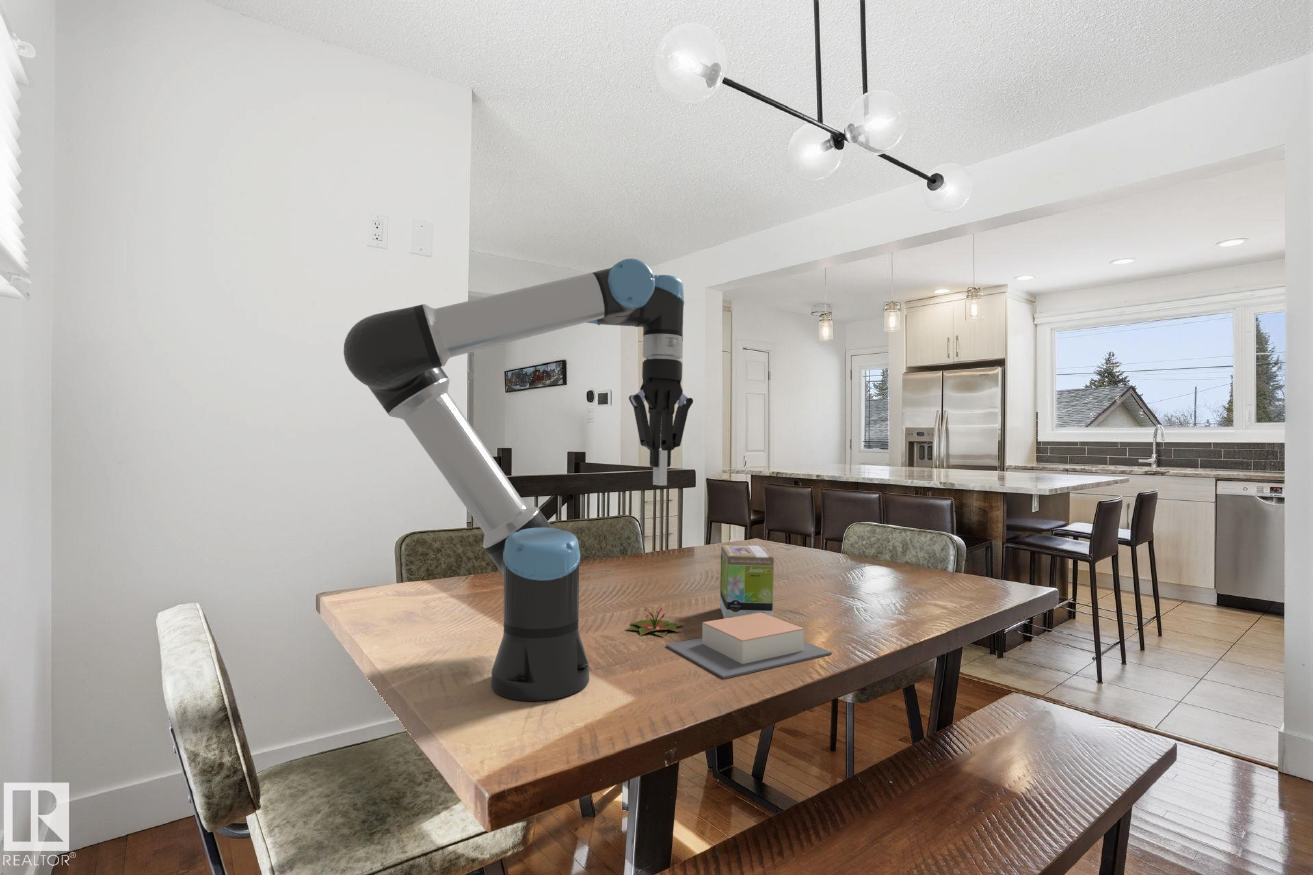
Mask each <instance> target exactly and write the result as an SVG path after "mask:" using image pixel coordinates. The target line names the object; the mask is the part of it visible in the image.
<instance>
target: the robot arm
mask: <svg viewBox="0 0 1313 875" xmlns="http://www.w3.org/2000/svg"><path fill="white" fill-rule="evenodd" d="M684 294H685V292H684V284H683V281H682V279H680V278H679V277H677V276H674V275H669V274H654V273H653V271H652V269H651V268H650V267H649V266H648V264H646V263H645V261H642V260H640V259H637V258H633V257H632V258H625V259H623V260H620V261H618V262H617V263H615V264H614V265H613V266H611V267H609V268H605V269H600V270H596V271H594V272H588V273H584V274H580V275H575V276H571V277H566V278H562V279H557V280H553V281H550V282H544V283H540V284H537V285H533V286H528V287H527V286H526V287H523V288H520V289H514V290H510V291H507V292H501V293H497V294H492V295H488V296H485V297H480V298H476V299H472V300H467V301H462V302H458V303H455V304H454V303H453V304H451V305H450V304H449V305H446V306H441V307H437V308H433V307H431V306H429V305H427V304H419V305H414V306H409V307H404V308H399V309H393V310H389V311H384V312H379V313H375V314H371V315H368V316H366V317H364V318H362V319H360V320H359V321H357V322H356V323H355V324H354V325H352V327H351V328H350V330H349V331H348V333H347V335H346V337H345V339H344V343H343V357H344V362H345V364H346V367H347V369H348V370H349V372H351V374H352V376H353V377H354V378H355V379H357V380H358V381H359V382H360V383H362V384H363V385H365V386H367V387H368V388H369V390H370V392H371V393H372V394H373V395H374V397H375V398H376V400H377V401H378V402H379V405H380V406H381V407H382V408H383V410H384V411H385V413H386V414H387V415H388V416H389V417H392V418H395V419H400V420H403V421H404V423H405V424H406V426H407V427H408V428H409V430H410V431H411V432H412V433H413V435H414V436H415V438H416V439H417V441H418V442H419V444H420V445H421V446H422V448H423V449H424V450H425V452H426V454H427V455H428V456H429V457H430V459H431V460H432V462H433V463H434V465H435V466H436V467H437V469H438V471H440V473H441V474H442V476H443V478H444V479H445V480H446V481H447V483H448V484H449V485H450V487H451V488H452V490H453V491H454V493H455V494H456V496H457V497H458V498H459V500H460V501H461V502H462V504H463V506H465V508H466V509H467V511H468V513H469V514H470V515H471V517H472V518H473V519H474V522H476V523H477V525H478V527H479V528H480V530H482V531H483V534H484V536H483V542H482V547H483V549H484V551H485V552H486V553H487V556H489V558H490V559H491V561H492V562H493V563H494V564H495V566H496V567H497V569H498V570H499V572H500V573H501V575H502V577H503V636H502V638H501V641H500V645H499V647H498V651H497V653H496V657H495V660H494V663H493V666H492V668H491V679H490V680H491V689H492V690H493V692H494V693H496V694H497V695H499V696H501V697H504V698H507V699H510V700H517V701H527V702H530V701H533V702H534V701H535V702H536V701H537V702H538V701H539V702H540V701H549V700H550V701H551V700H556V699H560V698H564V697H568V696H571V695H574V694H576V693H578V692H580V691H581V690H583V689H584V688H585V687H586V686H588V684H589V682H590V665H589V664H590V663H589V661H588V658H587V654H586V651H585V648H584V644H583V641H582V638H581V635H580V631H579V617H580V616H579V615H580V614H579V609H580V608H579V607H580V603H579V602H580V600H579V599H580V561H581V551H580V546H579V540H578V538H577V536H576V535H575V534H574V533H572V532H570V531H568V530H562V529H560V528H555V527H552V526H551V523H550V522H549V521H548V519H547V518H546V517H545V515H544V514H543V512H542V511H541V509H540V508H539V507H537V506H531V505H527V504H526V503H525V501H524V500H523V499H522V497H521V496H520V494H519V492H517V490H516V489H515V487H514V486H513V485H512V483H511V481H510V480H509V478H508V477H507V476H506V474H505V473H504V471H503V470H502V469H501V467H500V466H499V464H498V463H497V461H496V460H495V459H494V457H493V456H492V454H491V452H490V451H489V450H488V448H487V447H486V445H485V444H484V443H483V441H482V440H481V438H480V437H479V435H478V433H476V430H474V428H473V427H472V425H471V424H470V423H469V421H468V420H467V418H466V416H465V415H464V414H463V412H462V411H461V409H460V408H459V406H458V405H457V403H456V402H455V401H454V398H453V399H452V397H451V395H450V393H449V385H450V381H451V380H450V378H449V377H448V376H447V374H446V372H445V371H444V369H443V368H442V367H445V366H446V365H447V363H448V361H449V360H450V359H451V358H454V357H457V356H461V355H465V354H469V353H473V352H477V351H482V350H484V349H488V348H493V347H496V346H500V345H503V344H509V343H512V342H515V341H519V340H523V339H527V338H530V337H534V336H538V335H543V334H546V333H550V332H554V331H557V330H561V329H564V328H570V327H573V326H577V325H580V324H585V323H586V324H593V325H597V326H601V325H602V326H603V325H604V326H605V325H606V326H622V327H634V328H639V327H640V328H642V330H643V331H642V332H643V333H642V357H643V359H645V360H643V361H642V366H641V367H642V368H641V369H642V370H641V371H642V373H641V377H642V378H641V379H642V384H641V386H640V390H639V391H638V392H636V393H635V394H631V395H629V396H628V400H629V402H630V404H631V405H632V408H633V412H634V417H635V422H636V423H635V424H636V428H637V432H638V438H639V443H640V445H641V446H642V447H645V448H647V450H649V467H650V468H652V485H654V486H655V485H656V486H668V476H667V475H668V468H670V467H671V465H672V451H674V450H675V449H676V448H679V447H680V446H681V444H682V439H683V436H684V431H685V426H686V422H687V417H688V414H689V410H690V408H691V406H692V405H693V403H694V399H693V398H692V397H688V396H687V395H685V394H684V393H683V392H684V391H683V387H682V380H683V362H682V361H681V359H682V358H683V334H684V333H683V332H684V331H683V330H684V328H683V326H684V324H683V323H684V306H685V299H684V298H685V297H684ZM645 402H646V404H647V405H648V407H647V408H648V409H646V405H645ZM676 405H678V406H677V407H676ZM675 407H676V410H675ZM647 410H648V411H647ZM647 412H648V414H649V417H648V414H647ZM674 414H675V415H674ZM648 418H649V419H648ZM660 449H661V450H660Z"/></svg>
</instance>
